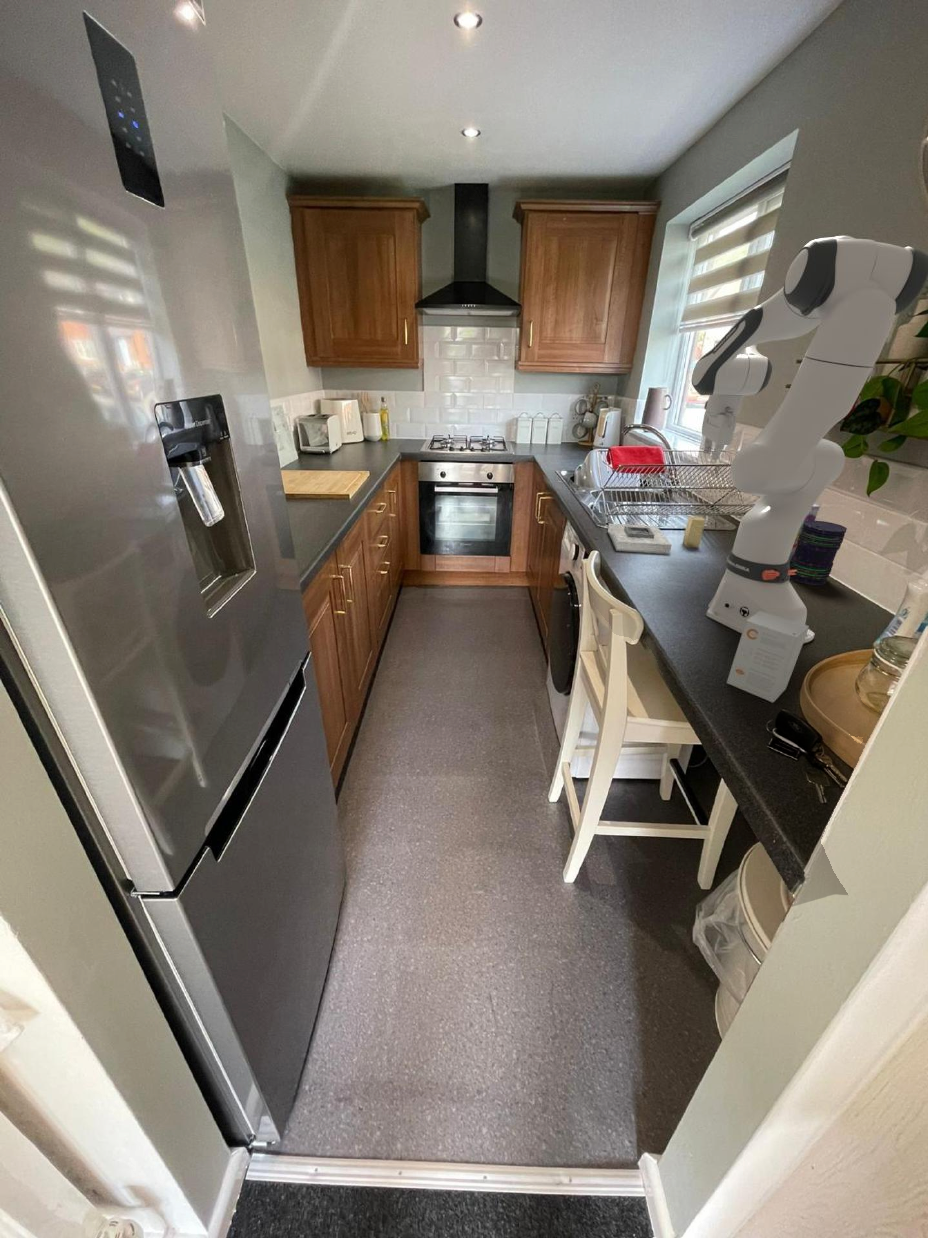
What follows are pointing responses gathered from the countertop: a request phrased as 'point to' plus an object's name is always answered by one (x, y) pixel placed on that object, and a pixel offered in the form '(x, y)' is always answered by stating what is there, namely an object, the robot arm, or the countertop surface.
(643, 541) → the grey socket base
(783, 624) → the small box
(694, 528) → the yellow tall rectangular block
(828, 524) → the storage jar
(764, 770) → the countertop surface
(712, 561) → the countertop surface
